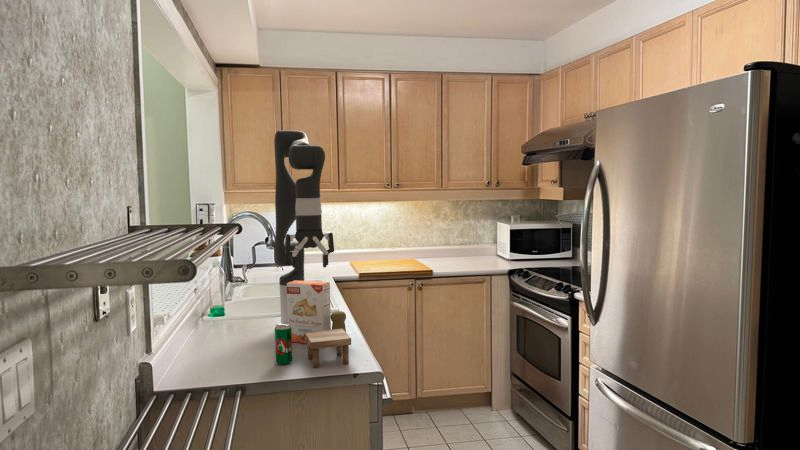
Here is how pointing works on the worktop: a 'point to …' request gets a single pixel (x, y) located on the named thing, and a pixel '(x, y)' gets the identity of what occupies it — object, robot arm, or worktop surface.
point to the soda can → (283, 343)
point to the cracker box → (308, 308)
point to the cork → (338, 320)
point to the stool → (327, 344)
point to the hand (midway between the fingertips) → (310, 268)
